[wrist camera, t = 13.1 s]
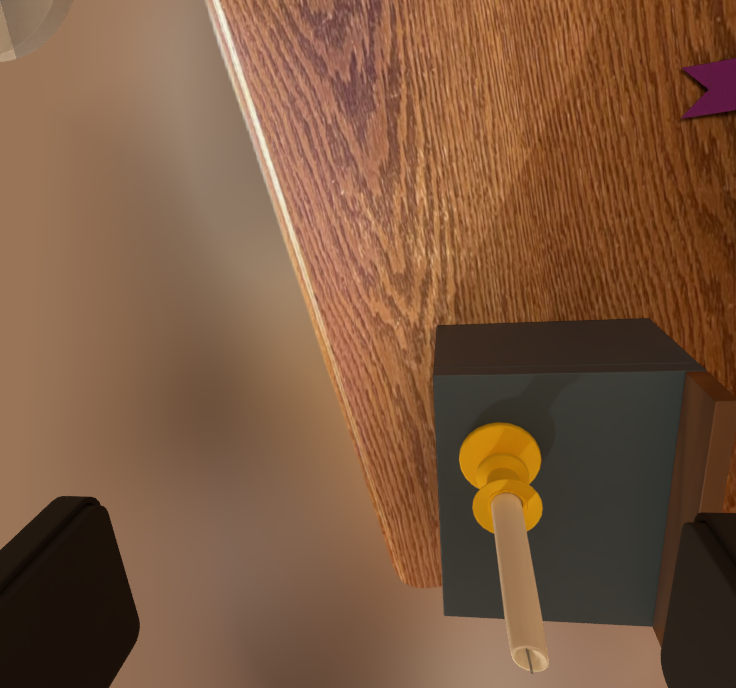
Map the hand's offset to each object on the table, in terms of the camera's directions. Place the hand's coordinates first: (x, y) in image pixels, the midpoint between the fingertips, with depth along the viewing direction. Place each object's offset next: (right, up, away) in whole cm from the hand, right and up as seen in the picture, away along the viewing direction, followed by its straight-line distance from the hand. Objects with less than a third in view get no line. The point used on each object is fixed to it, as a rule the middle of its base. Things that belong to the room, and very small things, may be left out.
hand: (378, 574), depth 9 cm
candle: (+8, -4, +27) cm, 29 cm away
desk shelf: (+14, -4, +37) cm, 40 cm away
